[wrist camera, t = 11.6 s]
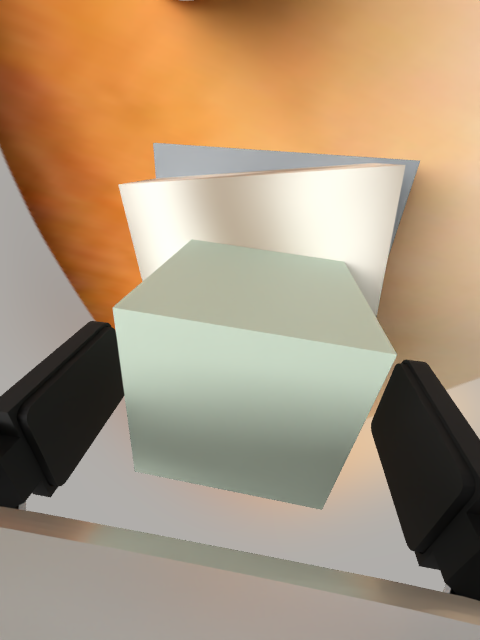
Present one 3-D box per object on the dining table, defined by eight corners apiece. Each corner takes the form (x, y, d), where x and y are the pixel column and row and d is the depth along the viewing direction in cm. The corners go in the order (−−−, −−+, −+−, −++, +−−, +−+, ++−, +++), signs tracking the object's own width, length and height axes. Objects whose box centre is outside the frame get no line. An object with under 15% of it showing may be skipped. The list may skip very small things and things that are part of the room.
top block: (372, 162, 13) (405, 164, 9) (346, 348, 17) (361, 395, 14) (158, 177, 14) (118, 184, 11) (189, 344, 19) (168, 386, 16)
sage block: (344, 261, 11) (396, 354, 6) (308, 379, 14) (322, 509, 9) (191, 239, 11) (112, 307, 6) (189, 358, 14) (134, 471, 9)
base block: (390, 159, 16) (420, 160, 12) (339, 339, 22) (349, 373, 18) (180, 145, 17) (153, 142, 13) (187, 320, 23) (169, 349, 19)
